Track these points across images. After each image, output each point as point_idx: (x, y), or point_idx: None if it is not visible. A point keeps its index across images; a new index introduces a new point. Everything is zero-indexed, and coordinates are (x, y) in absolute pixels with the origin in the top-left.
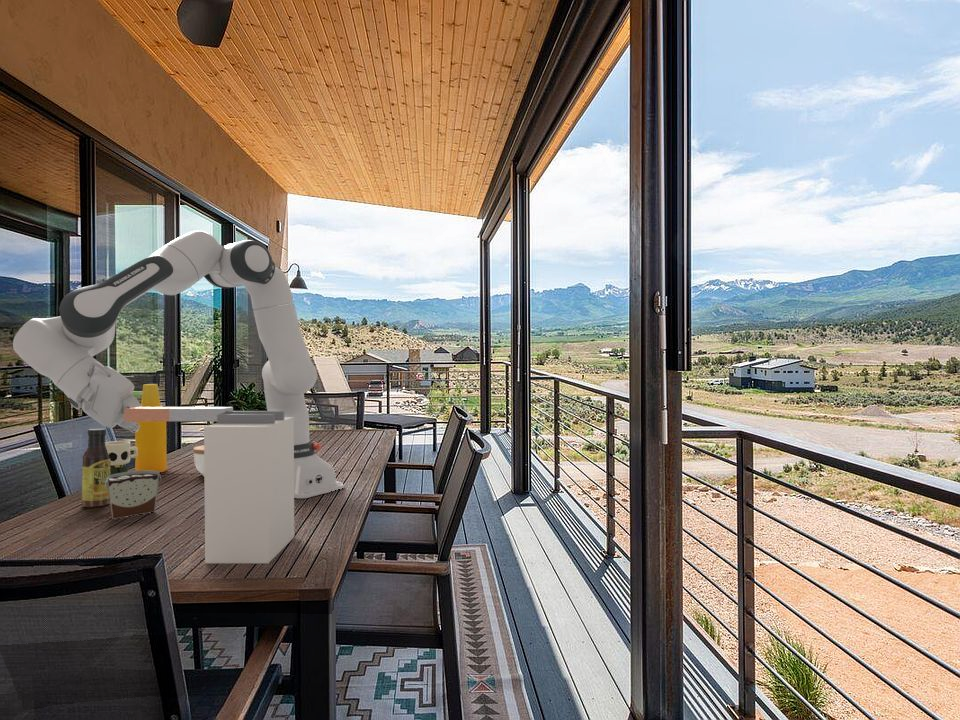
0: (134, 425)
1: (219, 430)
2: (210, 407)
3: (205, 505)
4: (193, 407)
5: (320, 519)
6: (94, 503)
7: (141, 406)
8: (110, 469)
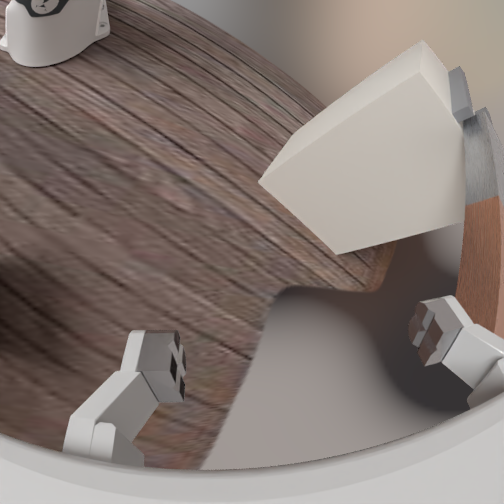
0: (175, 366)
1: None
2: (496, 147)
3: (395, 239)
4: (501, 175)
5: (234, 73)
6: None
7: (469, 322)
8: None
